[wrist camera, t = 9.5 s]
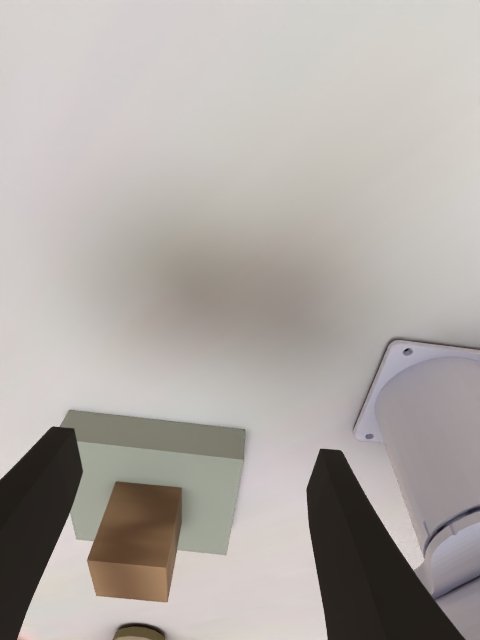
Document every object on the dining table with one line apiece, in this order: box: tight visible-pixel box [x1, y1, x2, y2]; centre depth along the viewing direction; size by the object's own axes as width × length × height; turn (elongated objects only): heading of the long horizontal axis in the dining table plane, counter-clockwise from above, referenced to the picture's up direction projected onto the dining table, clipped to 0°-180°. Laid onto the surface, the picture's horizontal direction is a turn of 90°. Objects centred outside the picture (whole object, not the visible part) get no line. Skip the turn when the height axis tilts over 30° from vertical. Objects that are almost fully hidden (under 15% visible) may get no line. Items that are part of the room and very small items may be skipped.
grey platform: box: [60, 410, 245, 555], centre depth 28 cm, size 12×12×3 cm
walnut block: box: [87, 481, 182, 602], centre depth 25 cm, size 4×4×5 cm
